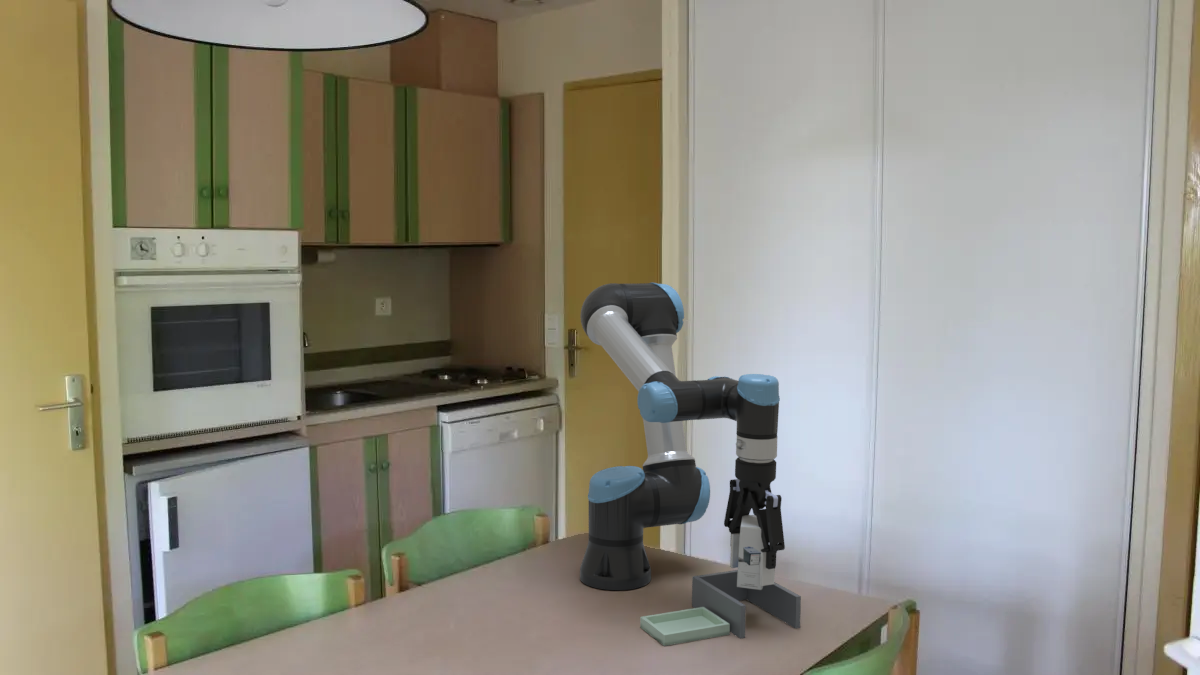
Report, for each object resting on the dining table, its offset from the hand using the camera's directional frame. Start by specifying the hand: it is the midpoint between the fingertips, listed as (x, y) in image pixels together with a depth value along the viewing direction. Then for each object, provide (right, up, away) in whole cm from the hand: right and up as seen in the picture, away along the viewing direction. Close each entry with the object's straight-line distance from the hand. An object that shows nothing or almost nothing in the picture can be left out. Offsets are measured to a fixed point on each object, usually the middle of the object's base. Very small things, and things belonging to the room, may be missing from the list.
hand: (751, 575), depth 179 cm
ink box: (0, -1, 0) cm, 1 cm away
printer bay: (-1, -9, +2) cm, 9 cm away
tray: (-13, -9, -5) cm, 17 cm away
